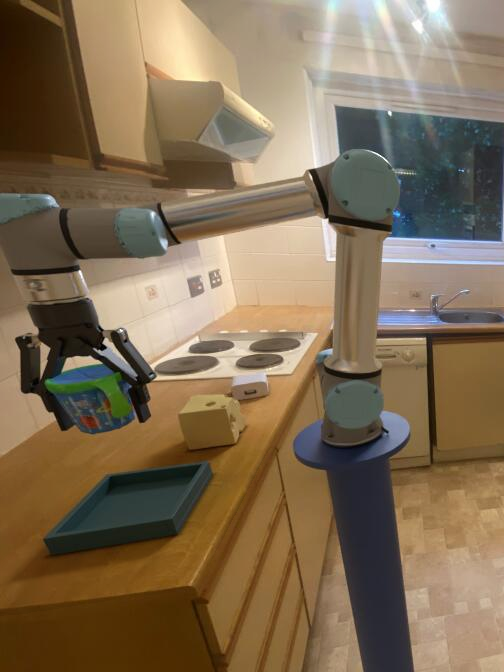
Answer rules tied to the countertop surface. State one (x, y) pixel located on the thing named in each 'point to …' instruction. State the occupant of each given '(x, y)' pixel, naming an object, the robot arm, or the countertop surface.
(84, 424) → the snack cup
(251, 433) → the countertop surface
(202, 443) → the cheese
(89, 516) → the tray
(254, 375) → the charger
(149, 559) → the countertop surface
